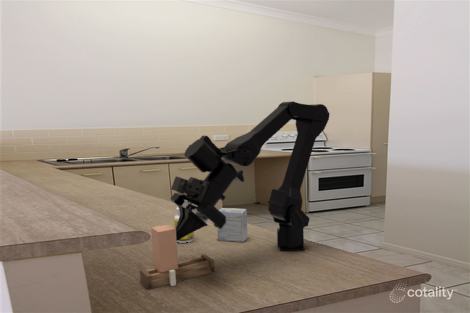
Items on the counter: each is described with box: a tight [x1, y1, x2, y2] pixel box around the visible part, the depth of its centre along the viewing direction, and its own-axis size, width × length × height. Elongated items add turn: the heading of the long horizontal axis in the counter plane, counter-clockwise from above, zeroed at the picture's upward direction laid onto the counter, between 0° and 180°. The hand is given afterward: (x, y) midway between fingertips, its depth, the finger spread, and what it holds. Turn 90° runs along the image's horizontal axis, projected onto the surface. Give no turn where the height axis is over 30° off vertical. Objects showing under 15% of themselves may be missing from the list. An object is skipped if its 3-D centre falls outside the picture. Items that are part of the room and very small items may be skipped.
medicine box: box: [216, 207, 249, 243], centre depth 118 cm, size 8×4×9 cm, turn 71°
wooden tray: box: [139, 253, 216, 290], centre depth 92 cm, size 16×5×3 cm, turn 121°
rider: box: [150, 224, 179, 273], centre depth 90 cm, size 4×4×10 cm
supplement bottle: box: [173, 206, 195, 244], centre depth 118 cm, size 5×5×10 cm
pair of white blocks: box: [169, 269, 177, 287], centre depth 91 cm, size 1×8×3 cm, turn 31°
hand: (173, 239), depth 91 cm, fingers closed, pressing on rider
